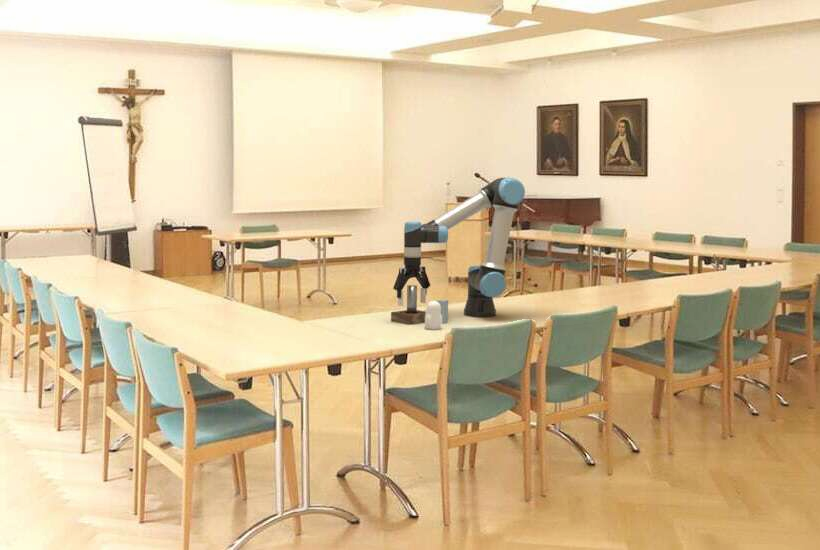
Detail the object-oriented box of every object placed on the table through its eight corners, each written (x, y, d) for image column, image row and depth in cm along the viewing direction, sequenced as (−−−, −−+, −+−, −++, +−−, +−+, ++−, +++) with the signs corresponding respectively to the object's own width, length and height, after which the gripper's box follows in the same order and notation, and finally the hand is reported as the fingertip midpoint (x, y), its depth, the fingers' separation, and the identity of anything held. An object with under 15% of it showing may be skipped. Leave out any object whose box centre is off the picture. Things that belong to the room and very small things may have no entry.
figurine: (427, 330, 376) (427, 302, 375) (422, 327, 383) (422, 299, 382) (443, 329, 378) (444, 301, 376) (438, 326, 385) (438, 299, 384)
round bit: (411, 320, 401) (412, 284, 400) (418, 321, 398) (419, 285, 396) (404, 321, 398) (404, 285, 397) (411, 322, 395) (411, 286, 393)
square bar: (439, 321, 398) (440, 299, 397) (447, 322, 396) (448, 300, 395) (435, 323, 395) (436, 300, 394) (443, 323, 393) (444, 301, 392)
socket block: (412, 318, 407) (412, 309, 407) (432, 321, 398) (432, 312, 397) (391, 320, 399) (391, 312, 398) (410, 324, 389) (410, 315, 389)
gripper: (427, 254, 406) (426, 300, 409) (385, 257, 389) (385, 305, 392) (438, 255, 401) (437, 302, 403) (397, 258, 384) (396, 307, 386)
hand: (411, 304), depth 397 cm, fingers open, 13 cm apart
